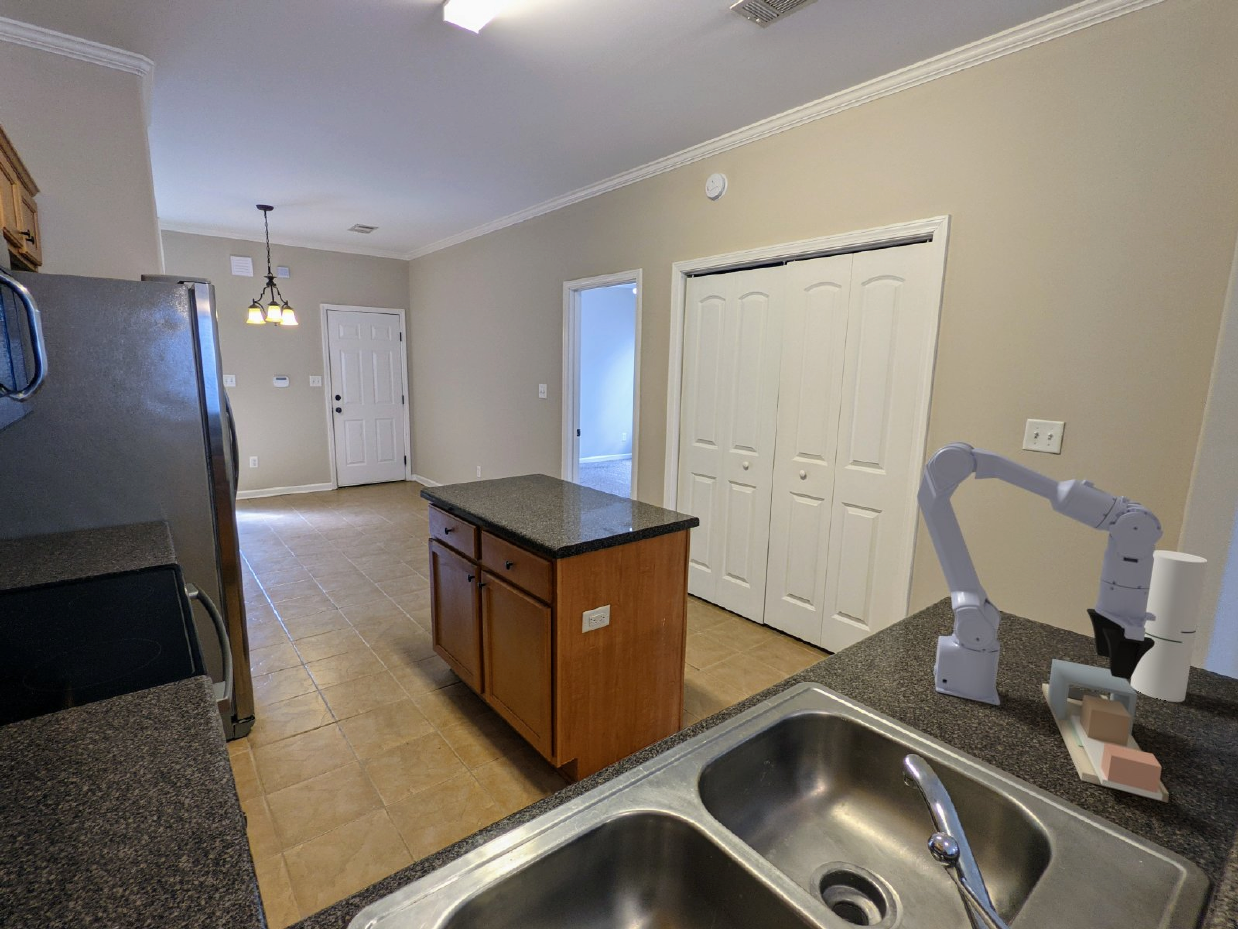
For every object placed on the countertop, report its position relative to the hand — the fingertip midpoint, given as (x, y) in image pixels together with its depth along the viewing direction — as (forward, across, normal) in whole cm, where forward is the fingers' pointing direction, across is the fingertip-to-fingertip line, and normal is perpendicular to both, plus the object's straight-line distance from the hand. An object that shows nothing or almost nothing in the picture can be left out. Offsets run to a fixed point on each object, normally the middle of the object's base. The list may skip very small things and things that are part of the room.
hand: (1112, 666), depth 90 cm
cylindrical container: (+11, +19, -12) cm, 25 cm away
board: (+10, -4, +2) cm, 11 cm away
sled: (+9, -11, +2) cm, 15 cm away
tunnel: (+10, +1, +2) cm, 11 cm away
